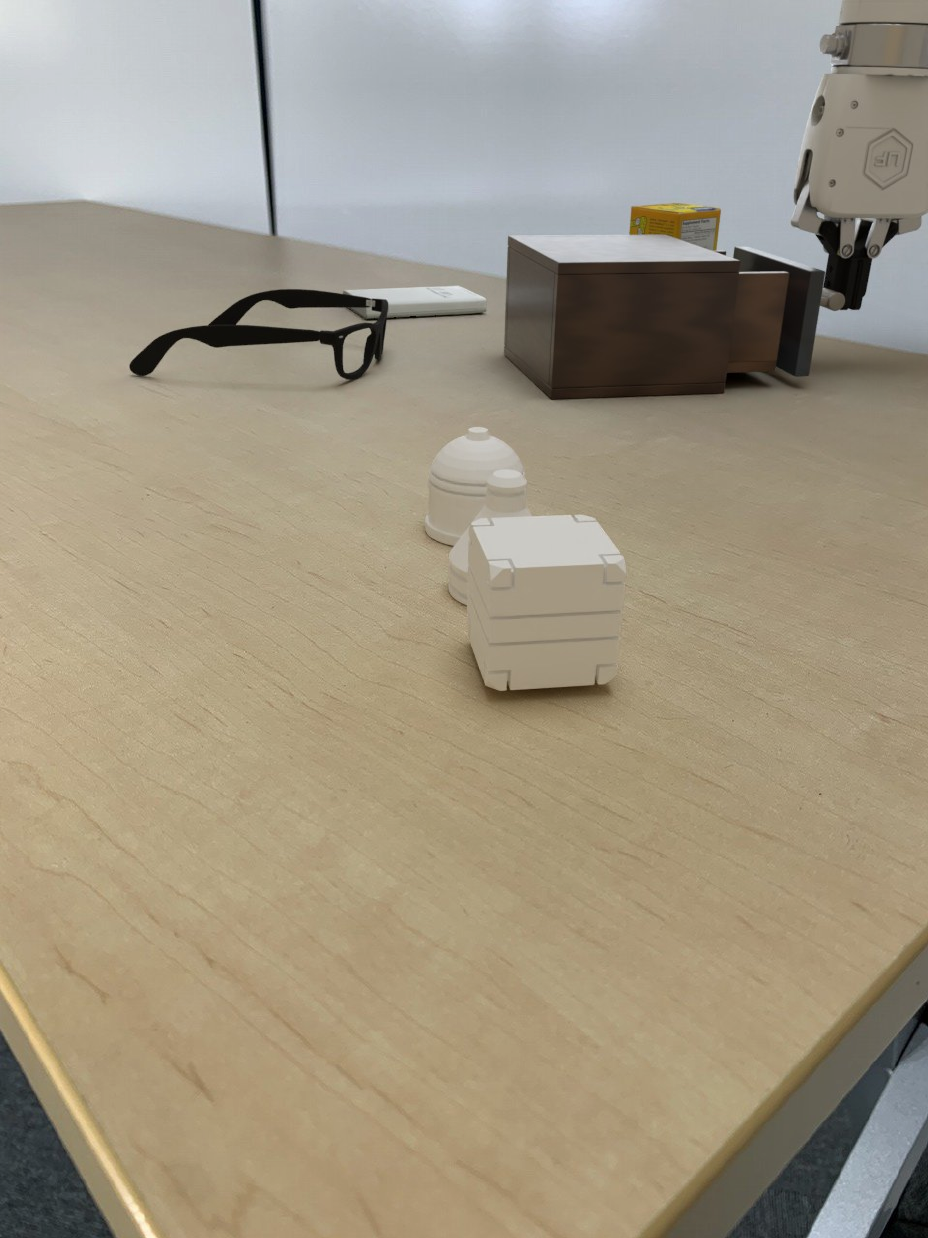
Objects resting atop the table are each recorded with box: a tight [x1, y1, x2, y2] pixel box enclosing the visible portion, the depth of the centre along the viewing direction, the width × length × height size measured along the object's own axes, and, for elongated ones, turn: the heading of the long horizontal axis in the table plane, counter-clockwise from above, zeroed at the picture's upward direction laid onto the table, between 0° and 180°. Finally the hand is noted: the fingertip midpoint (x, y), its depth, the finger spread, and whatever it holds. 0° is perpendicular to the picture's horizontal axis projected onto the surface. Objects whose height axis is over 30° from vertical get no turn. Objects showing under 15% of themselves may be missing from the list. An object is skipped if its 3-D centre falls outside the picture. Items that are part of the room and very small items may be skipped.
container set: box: [424, 426, 628, 692], centre depth 49 cm, size 20×5×6 cm, turn 9°
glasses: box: [128, 288, 388, 381], centre depth 88 cm, size 17×18×5 cm
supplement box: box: [628, 202, 722, 250], centre depth 102 cm, size 6×6×11 cm
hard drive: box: [342, 285, 488, 320], centre depth 110 cm, size 2×8×12 cm
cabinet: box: [503, 234, 741, 400], centre depth 86 cm, size 14×15×10 cm
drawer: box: [711, 245, 845, 378], centre depth 88 cm, size 17×13×8 cm
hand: (841, 306), depth 90 cm, fingers closed
